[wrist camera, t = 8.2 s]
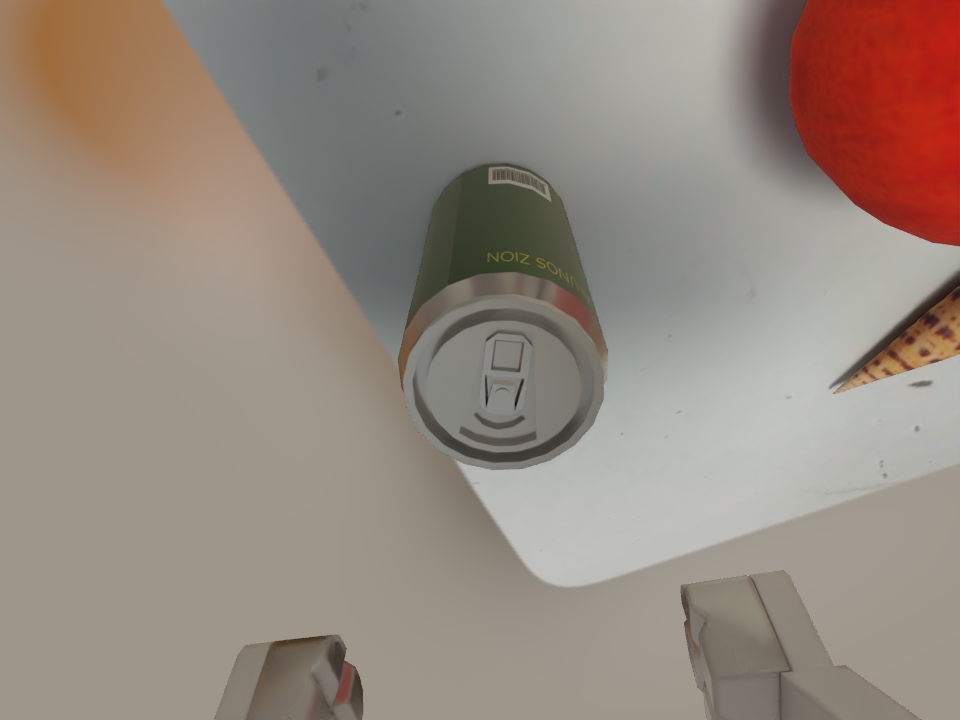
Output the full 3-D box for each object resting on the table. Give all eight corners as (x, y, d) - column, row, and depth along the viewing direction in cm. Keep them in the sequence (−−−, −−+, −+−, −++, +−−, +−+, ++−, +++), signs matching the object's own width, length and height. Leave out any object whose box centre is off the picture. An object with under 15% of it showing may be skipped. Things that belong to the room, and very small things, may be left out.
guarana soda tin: (434, 151, 26) (397, 277, 16) (577, 166, 26) (635, 300, 16) (426, 284, 29) (389, 467, 18) (556, 296, 29) (593, 485, 18)
